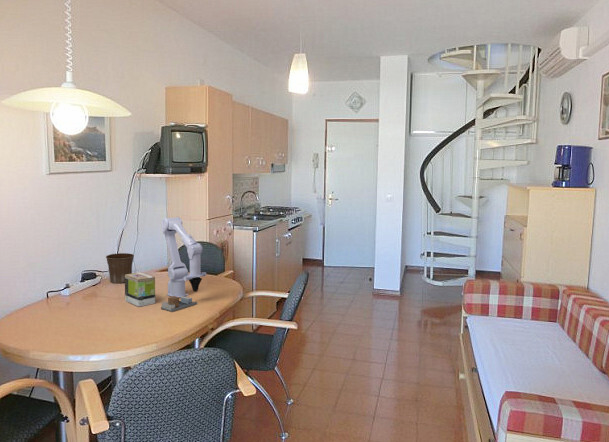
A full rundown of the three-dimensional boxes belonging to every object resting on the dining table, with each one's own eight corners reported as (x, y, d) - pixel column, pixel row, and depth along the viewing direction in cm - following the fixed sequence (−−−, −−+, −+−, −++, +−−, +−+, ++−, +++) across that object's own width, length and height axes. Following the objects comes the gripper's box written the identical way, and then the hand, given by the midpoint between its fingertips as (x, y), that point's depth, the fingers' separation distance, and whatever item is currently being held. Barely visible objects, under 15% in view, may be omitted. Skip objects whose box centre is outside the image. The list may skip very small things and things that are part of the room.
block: (167, 307, 243) (167, 297, 242) (174, 305, 246) (174, 295, 246) (173, 308, 241) (173, 299, 240) (179, 306, 244) (179, 297, 243)
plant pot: (128, 285, 286) (128, 258, 284) (102, 284, 286) (101, 258, 284) (138, 278, 302) (137, 253, 300) (113, 277, 302) (112, 252, 300)
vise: (161, 309, 242) (161, 302, 241) (186, 301, 256) (186, 295, 255) (171, 312, 237) (171, 305, 237) (197, 304, 252) (197, 297, 251)
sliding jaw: (180, 302, 251) (180, 296, 251) (184, 301, 253) (184, 295, 253) (188, 304, 248) (188, 298, 247) (192, 303, 250) (192, 297, 250)
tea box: (156, 303, 251) (155, 276, 249) (138, 307, 244) (137, 279, 242) (141, 297, 261) (141, 271, 259) (124, 301, 254) (123, 274, 252)
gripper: (190, 269, 245) (190, 295, 247) (210, 265, 257) (210, 289, 259) (180, 268, 249) (180, 293, 251) (201, 263, 261) (201, 287, 263)
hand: (195, 291), depth 255 cm, fingers closed
